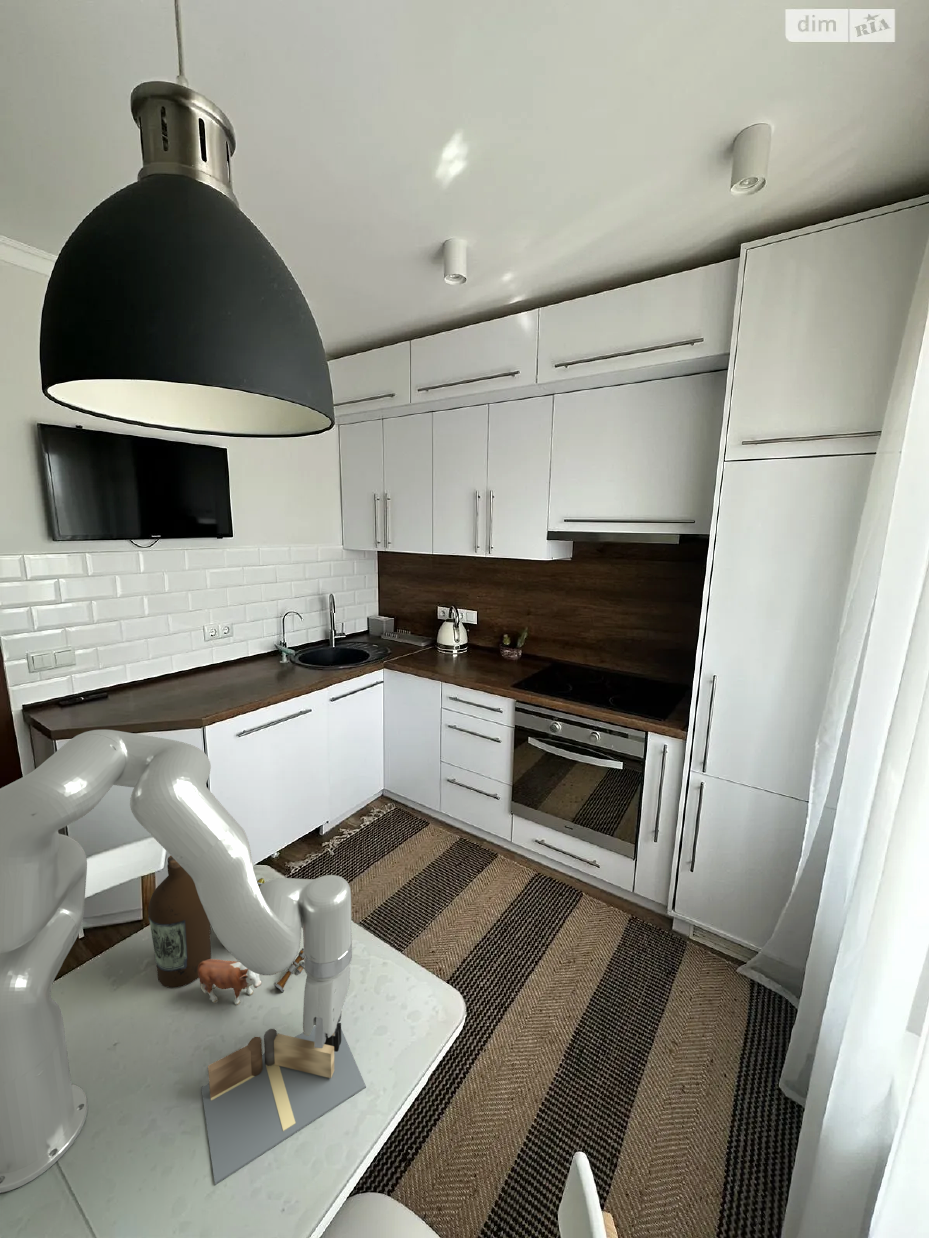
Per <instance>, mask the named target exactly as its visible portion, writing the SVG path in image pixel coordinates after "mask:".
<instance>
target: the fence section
mask: <svg viewBox="0 0 929 1238" xmlns="http://www.w3.org/2000/svg"><path fill="white" fill-rule="evenodd" d="M262 1041H263V1040H262V1038H261V1037H260V1036H253V1037H252V1038H251V1039H250V1040H249V1041H248V1044H247V1045H245V1046H243V1047H242V1048H238V1049H237V1050H235V1051H234V1052H232V1053H229V1054H228V1055H226V1056H224V1057H222V1058H220V1059H217V1060H216V1061H214V1062H212V1063H210V1064H209V1065H207V1071H208V1074H207V1075H208V1083H209V1089H210V1097H211V1098H212V1097H214V1096H216V1095H218V1094H219V1093H221V1092H223V1091H225V1090H227V1089H228V1088H230V1087H232V1086H234V1085H236V1084H237V1083H239V1082H241V1081H243V1080H245V1079H246V1078H248V1077H250V1076H257V1075H259V1074H260V1073H261V1071H262V1069H263V1063H262V1054H263V1045H262V1044H263V1042H262Z"/></svg>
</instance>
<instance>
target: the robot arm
mask: <svg viewBox="0 0 929 1238" xmlns="http://www.w3.org/2000/svg"><path fill="white" fill-rule="evenodd" d="M211 768H212V766H211V761H210V759H209V757H208V755H207V754H206V753H205V752H204V751H203V750H202V749H201V748H199V747H198V746H197V747H196V746H195V745H192V744H189V743H186V742H182V741H179V740H174V739H170V738H163V737H157V736H153V735H152V736H151V735H145V734H138V733H133V732H127V731H120V730H115V729H92V730H89V731H84V732H82V733H80V734H77V735H75V736H74V737H73V738H71V739H69V740H68V741H66V742H65V743H64V744H63V745H62V746H61V747H60V748H59V749H57V750H56V751H55V752H54V753H52V755H51V756H50V757H48V758H47V759H46V760H44V762H42V763H41V764H40V765H39V766H38V767H36V768H35V769H34V770H32V771H31V772H29V773H28V774H26V775H24V776H22V777H21V778H19V779H16V780H15V781H13V782H11V783H9V784H7V785H5V786H2V787H1V788H0V1194H1V1193H6V1192H10V1191H12V1190H15V1189H18V1188H20V1187H23V1186H24V1185H26V1184H28V1183H30V1182H32V1181H33V1180H35V1179H36V1178H37V1177H39V1176H40V1175H42V1174H44V1173H45V1172H46V1171H48V1169H49V1168H51V1167H52V1166H53V1165H55V1163H56V1162H57V1161H59V1159H60V1158H61V1157H63V1155H64V1154H65V1153H66V1152H67V1151H68V1150H69V1148H70V1147H71V1146H72V1145H73V1144H74V1142H75V1140H76V1139H77V1137H78V1136H79V1134H80V1133H81V1131H82V1129H83V1127H84V1126H85V1125H84V1124H85V1121H86V1119H87V1115H88V1109H89V1108H88V1107H89V1105H88V1097H87V1093H86V1092H85V1091H84V1089H83V1088H82V1087H80V1086H78V1085H77V1084H74V1083H72V1079H71V1073H70V1072H71V1071H70V1064H69V1063H70V1062H69V1056H68V1047H67V1039H66V1031H65V1026H64V1019H63V1013H62V1009H61V1007H60V1005H59V1003H58V1002H57V1001H56V1000H54V999H53V998H52V997H51V993H52V987H53V983H54V981H55V978H56V977H57V975H58V973H59V972H60V970H61V967H62V966H63V963H64V962H65V959H66V958H67V956H68V954H69V953H70V951H71V949H72V948H73V945H74V944H75V942H76V940H77V938H78V936H79V934H80V932H81V928H82V925H83V921H84V920H83V919H84V913H85V900H86V889H87V888H86V887H87V877H88V876H87V874H88V861H87V860H88V859H87V855H86V852H85V850H84V849H83V846H82V845H81V844H80V843H79V842H78V841H77V840H75V838H72V837H71V836H69V835H66V834H61V833H59V830H61V829H63V828H65V827H67V826H69V825H71V824H73V823H75V822H77V821H78V820H80V819H81V818H83V817H85V816H87V815H88V814H89V813H90V812H92V810H94V809H95V807H97V805H99V803H100V802H101V800H103V798H104V797H105V795H107V794H108V792H109V791H110V790H111V788H112V787H113V786H118V787H126V788H127V787H128V788H133V789H132V792H131V794H130V798H129V799H130V801H129V806H130V810H131V813H132V815H133V817H134V818H135V819H136V821H137V822H138V823H139V824H140V825H141V826H142V828H144V830H146V831H147V832H148V833H149V835H150V836H151V837H152V838H153V839H154V840H155V841H156V842H157V843H158V844H159V845H160V846H161V847H162V848H163V849H164V851H166V852H167V853H168V854H169V856H172V857H173V858H174V859H175V860H176V861H177V862H178V863H179V865H180V866H181V867H182V868H183V869H184V870H185V871H186V872H187V873H188V874H189V875H190V876H191V878H192V879H193V881H194V883H195V886H196V889H197V893H198V896H199V898H200V901H201V903H202V905H203V908H204V910H205V912H206V915H207V917H208V919H209V922H210V927H212V928H211V929H212V930H213V932H214V934H215V935H216V937H217V939H218V940H219V942H220V944H222V945H223V947H224V948H225V950H227V952H229V953H230V954H231V955H232V956H233V957H234V959H236V960H237V962H240V963H241V964H242V965H243V966H245V967H246V968H247V969H249V970H251V971H252V972H254V973H257V974H259V976H260V975H261V976H273V975H277V974H280V973H282V972H283V971H285V970H287V969H288V968H289V967H290V965H291V964H292V963H293V961H295V959H296V958H297V957H298V955H299V952H300V947H301V939H302V938H303V943H302V944H303V948H304V957H303V958H304V960H303V962H304V968H305V969H304V971H305V974H306V979H305V982H304V983H305V984H304V992H303V1006H302V1007H303V1008H302V1009H303V1010H302V1011H303V1012H302V1013H303V1015H302V1031H303V1032H304V1035H306V1036H310V1033H311V1031H312V1029H313V1027H314V1026H316V1029H315V1045H314V1047H315V1048H323V1046H324V1044H326V1045H330V1046H334V1051H335V1052H337V1051H338V1050H339V1045H340V1044H341V1029H342V1022H341V1020H342V1012H343V1011H342V1010H343V1007H344V1006H345V1005H344V1004H345V1002H346V998H347V996H348V992H349V987H350V981H351V967H350V966H351V964H352V960H353V946H352V944H353V943H352V942H353V939H352V936H353V935H352V934H353V933H352V891H351V886H350V884H349V883H348V881H347V879H346V878H345V879H344V877H341V876H339V875H335V874H328V875H327V874H326V875H322V876H319V877H317V878H313V879H312V878H311V879H310V878H309V879H308V878H290V877H278V878H272V879H268V880H267V881H265V883H263V884H262V885H261V886H260V887H259V886H258V883H257V881H258V880H257V878H256V873H255V870H254V862H253V856H252V850H251V846H250V842H249V839H248V836H247V833H246V832H245V830H244V828H243V827H242V826H241V825H240V824H239V822H238V821H237V820H236V819H235V818H234V817H233V816H232V815H231V814H230V812H229V811H228V810H227V809H226V808H225V807H224V805H222V804H221V802H220V801H219V800H218V798H216V796H215V795H214V794H213V793H212V791H211V790H210V789H209V788H208V787H207V786H206V785H207V783H208V779H209V777H210V774H211ZM338 1022H339V1023H338ZM303 1032H302V1033H303Z"/></svg>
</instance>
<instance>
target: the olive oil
mask: <svg viewBox="0 0 929 1238" xmlns="http://www.w3.org/2000/svg"><path fill="white" fill-rule="evenodd" d="M167 874H168V875H167V876H166V877H165V878H164V879H163V880H162V881H161V883H159V884H158V885H157V887H156V888H155V889H154V890H153V892H152V894H151V896H150V898H149V899H150V900H149V903H148V910H147V911H148V914H147V915H148V916H147V918H148V921H149V925H150V932H151V939H152V946H153V950H154V960H155V967H156V973H157V975H156V976H157V979H158V982H159V983H160V984H161V986H164V987H165V988H171V989H174V988H175V989H176V988H181V987H185V986H187V985H190V984H191V983H193V982H195V981H196V980H198V979H199V976H198V965H199V964H200V963H201V962H202V961H205V960H208V959H212V948H211V947H212V945H211V924H210V922H209V919H208V917H207V915H206V912H205V910H204V908H203V905H202V903H201V901H200V898H199V896H198V893H197V889H196V886H195V883H194V881H193V879H192V878H191V876H190V875H189V874H188V873H187V872H186V871H185V870H184V869H183V868H182V867H181V866H180V865H179V863H178V862H177V861H176V860H175V859H174V858H173V857H172V856H171V855H169V856H168V858H167Z"/></svg>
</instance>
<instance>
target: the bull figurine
mask: <svg viewBox="0 0 929 1238" xmlns="http://www.w3.org/2000/svg"><path fill="white" fill-rule="evenodd" d="M198 976H199V978H198V979H199V982H200V983H199V985H200V989H201V990H202V992H203V994H206V993H208V995H209V1001H211V1002H212V1003H213V1004H216V1003H217V1002H218V1001H219V997H218V996H217V995H216V994H215V993H214V991H213V990H215V989H216V988H217V989H219V990H229V989H232V990H233V992H234V999H233V1001H232V1002H233V1003H234V1005H235V1006H239V1005H240V1004H241V1000H240V998H239V996H240V994H241V992H242V990H246V992H245V993H246V994H247V995H248V996H252V995H253V994H255V993H254V990H253V989H252V988H251V986H253V988H254V989H257V988H259V987H260V986H261V985H262V981H261V979H260V974H257V973H254V972H252V971H251V970H249V969H247V968H246V967H245V966H243V965H242V964H241V963H240V962H239V961H235V960H223V959H218V958H217V959H214V958H211V959H208V960H205V961H202V962H201V963H200V964H199V965H198Z"/></svg>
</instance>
